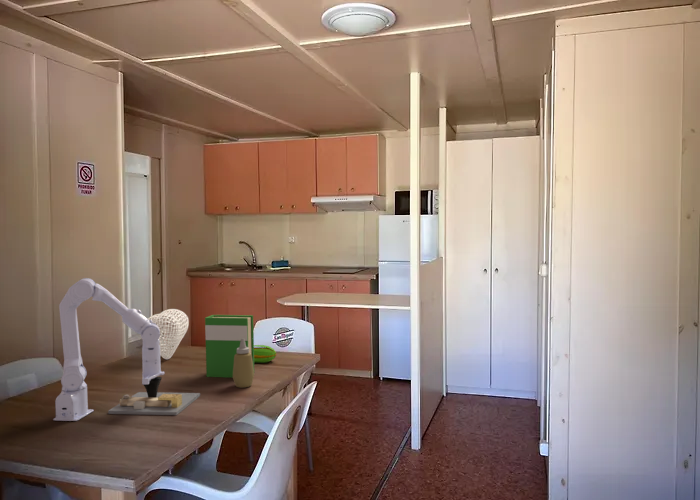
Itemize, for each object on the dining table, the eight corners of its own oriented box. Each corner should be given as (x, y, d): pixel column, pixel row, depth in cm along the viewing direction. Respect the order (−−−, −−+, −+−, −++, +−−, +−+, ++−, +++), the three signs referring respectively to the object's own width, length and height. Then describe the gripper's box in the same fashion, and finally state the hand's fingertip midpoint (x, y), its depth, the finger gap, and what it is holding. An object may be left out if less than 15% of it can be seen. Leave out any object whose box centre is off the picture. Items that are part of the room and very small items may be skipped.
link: (118, 405, 178) (118, 396, 178) (124, 402, 181) (124, 393, 181) (167, 407, 176) (166, 398, 176) (171, 403, 179) (171, 394, 179)
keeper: (177, 407, 175) (176, 397, 175) (158, 407, 176) (157, 397, 176) (182, 403, 179) (181, 394, 179) (163, 403, 180) (163, 393, 180)
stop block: (142, 409, 175) (142, 403, 175) (133, 408, 175) (133, 402, 175) (145, 407, 177) (145, 401, 177) (136, 406, 177) (136, 400, 177)
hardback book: (254, 373, 221) (253, 315, 220) (248, 378, 214) (247, 318, 213) (213, 371, 224) (212, 314, 223) (206, 376, 217) (205, 317, 216)
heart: (173, 366, 233) (172, 316, 232) (138, 367, 233) (136, 316, 233) (193, 352, 261) (192, 306, 260) (162, 352, 261) (160, 307, 261)
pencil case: (273, 346, 236) (229, 345, 238) (273, 364, 235) (229, 363, 238) (278, 344, 243) (235, 343, 246) (278, 361, 243) (235, 360, 245)
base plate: (176, 415, 171) (176, 412, 171) (108, 413, 174) (108, 410, 174) (200, 395, 191) (200, 393, 191) (138, 394, 193) (138, 392, 193)
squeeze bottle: (233, 389, 198) (232, 341, 197) (232, 383, 206) (231, 337, 205) (255, 387, 200) (254, 340, 199) (253, 382, 208) (252, 336, 207)
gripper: (157, 364, 173) (158, 406, 174) (169, 354, 188) (170, 392, 188) (135, 365, 173) (136, 407, 173) (148, 355, 187) (149, 393, 188)
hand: (152, 399), depth 181 cm, fingers closed
